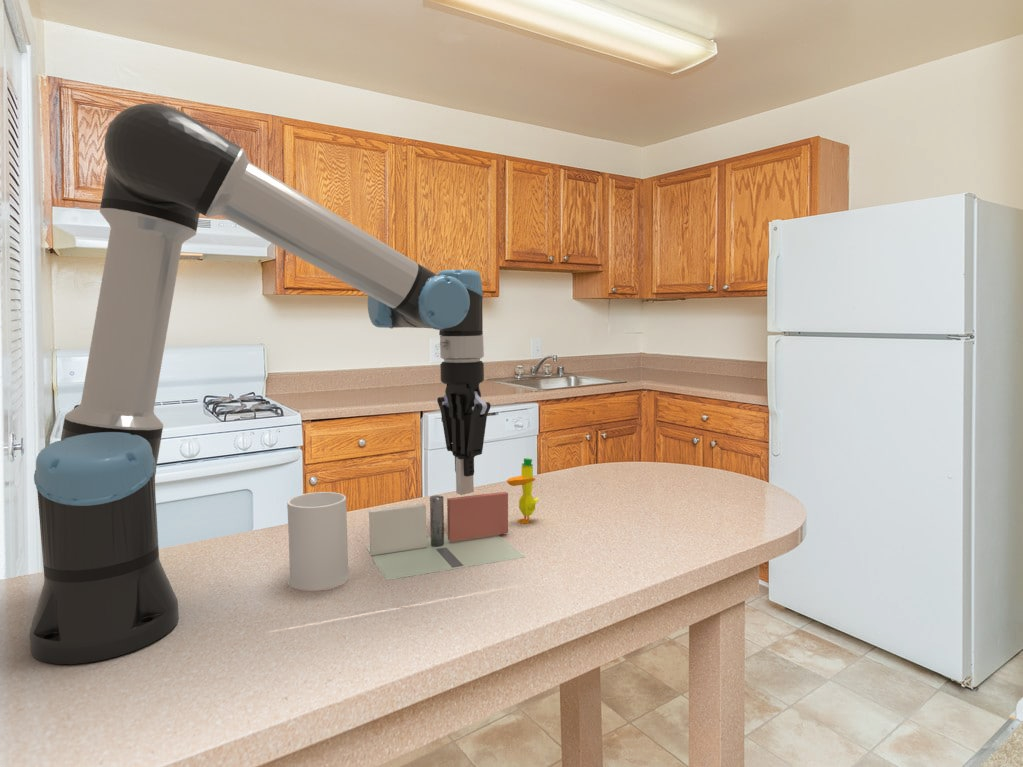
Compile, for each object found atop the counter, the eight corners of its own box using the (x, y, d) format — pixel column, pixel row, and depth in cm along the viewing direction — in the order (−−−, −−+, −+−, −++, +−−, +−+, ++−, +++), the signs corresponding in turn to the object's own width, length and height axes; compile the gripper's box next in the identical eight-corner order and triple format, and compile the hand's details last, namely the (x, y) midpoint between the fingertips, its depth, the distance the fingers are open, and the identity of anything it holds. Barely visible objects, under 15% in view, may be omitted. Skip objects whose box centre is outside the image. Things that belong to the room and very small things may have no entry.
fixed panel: (371, 555, 102) (370, 512, 101) (369, 553, 103) (368, 510, 102) (426, 547, 106) (425, 505, 105) (424, 545, 107) (423, 503, 106)
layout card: (386, 582, 92) (386, 579, 92) (365, 548, 106) (365, 546, 106) (525, 558, 101) (525, 556, 101) (490, 530, 115) (490, 528, 115)
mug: (273, 571, 97) (270, 492, 95) (328, 558, 102) (326, 483, 101) (300, 598, 87) (297, 511, 86) (359, 582, 93) (357, 500, 91)
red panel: (450, 541, 107) (449, 500, 106) (447, 539, 108) (447, 498, 107) (508, 532, 111) (508, 493, 111) (505, 530, 112) (505, 491, 112)
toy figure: (513, 529, 115) (512, 463, 114) (502, 523, 118) (502, 459, 117) (544, 522, 119) (544, 458, 118) (533, 517, 122) (533, 455, 121)
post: (432, 547, 105) (432, 499, 105) (429, 543, 107) (428, 496, 107) (445, 545, 106) (445, 498, 105) (441, 541, 108) (441, 494, 107)
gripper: (423, 359, 115) (427, 489, 117) (466, 363, 105) (469, 505, 107) (458, 357, 120) (461, 481, 122) (502, 360, 110) (504, 496, 112)
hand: (465, 492), depth 115 cm, fingers closed
